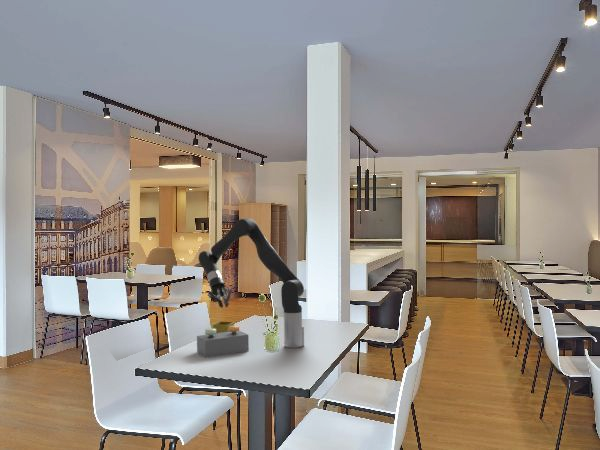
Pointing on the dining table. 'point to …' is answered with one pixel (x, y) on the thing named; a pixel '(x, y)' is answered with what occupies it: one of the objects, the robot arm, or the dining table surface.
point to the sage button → (210, 332)
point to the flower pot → (222, 326)
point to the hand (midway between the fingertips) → (224, 306)
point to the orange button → (233, 329)
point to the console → (222, 344)
